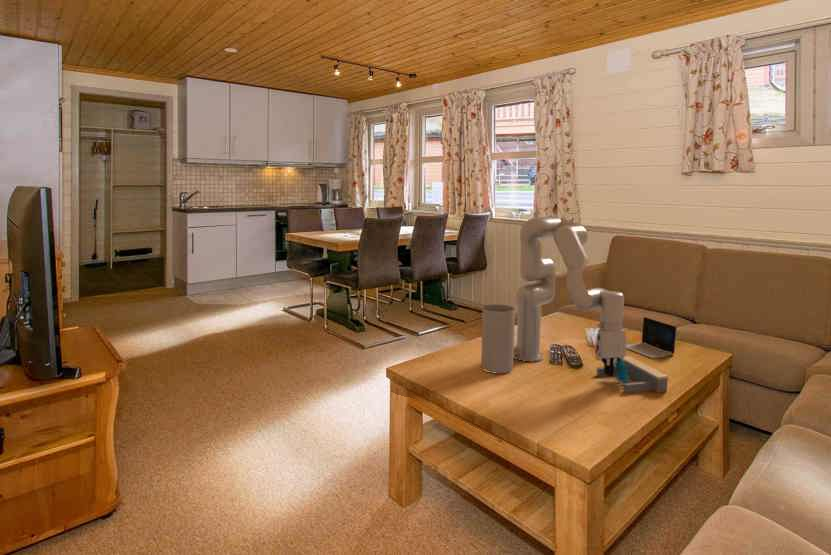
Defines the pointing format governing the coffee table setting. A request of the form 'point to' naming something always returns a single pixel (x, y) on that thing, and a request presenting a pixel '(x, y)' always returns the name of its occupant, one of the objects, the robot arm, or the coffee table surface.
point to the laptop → (655, 339)
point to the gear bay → (641, 377)
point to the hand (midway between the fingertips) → (608, 374)
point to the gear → (621, 371)
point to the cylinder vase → (498, 338)
